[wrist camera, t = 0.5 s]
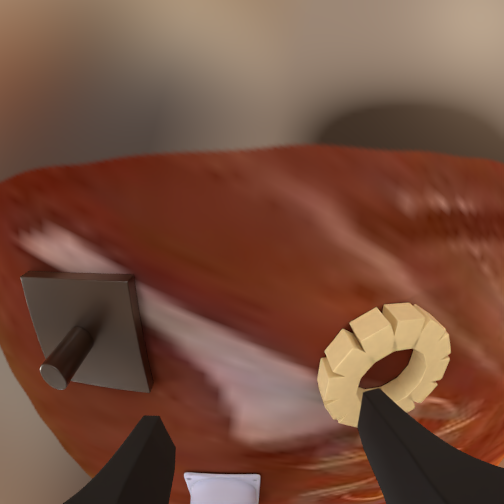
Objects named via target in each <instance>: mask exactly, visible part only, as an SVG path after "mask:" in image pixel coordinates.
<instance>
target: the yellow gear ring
mask: <svg viewBox="0 0 504 504" xmlns="http://www.w3.org/2000/svg"><path fill="white" fill-rule="evenodd" d="M350 326H351V328H352V330H353V332H354V334H353V333H351V332H349V331H347V330H345V329H342V330H341V331H340V332H339V334H338V335H337V336H336V337H335V339H334V340H333V341H332V342H331V344H330V345H329V346H328V347H327V349H326V350H325V354H326V357H324V358H321V361H320V366H319V372H318V377H317V381H318V384H319V385H318V387H319V390H320V393H321V396H322V400H323V403H324V406H325V407H326V409H327V410H328V412H329V413H330V415H331V416H332V418H333V419H334V420H336V419H337V420H338V422H339V423H341V424H345V425H349V426H353V427H357V425H358V420H359V414H360V408H361V402H362V395H363V392H365V391H369V390H373V389H376V388H380V389H381V390H382V391H383V392H384V393H385V394H386V395H387V396H388V397H390V398H391V399H392V400H393V401H394V402H395V403H396V404H397V405H398V406H399V407H400V408H402V409H403V410H404V411H405V412H406V413H407V412H409V411H410V410H412V409H414V408H415V405H414V401H415V402H418V403H421V402H422V401H423V400H424V399H425V398H426V397H427V396H428V395H429V394H430V393H431V392H432V391H433V389H434V388H435V387H436V386H437V383H436V382H435V381H436V380H440V379H442V377H443V374H444V372H445V370H446V367H447V365H448V362H449V360H450V358H449V357H448V355H449V354H450V353H451V348H450V340H449V334H448V333H447V332H446V329H445V328H444V327H443V326H442V325H441V324H440V323H439V322H438V321H437V320H436V319H435V318H434V317H433V316H432V315H431V314H429V313H428V312H426V311H425V310H423V309H422V308H421V307H419V306H418V305H416V304H414V306H412V305H411V304H410V303H397V304H384V306H383V311H382V313H381V312H380V311H379V309H378V308H377V307H376V308H374V309H372V310H370V311H369V312H367V313H365V314H363V315H362V316H360V317H358V318H356V319H355V320H353V321H351V322H350ZM412 348H413V353H412V356H411V359H410V361H409V364H408V366H407V367H406V368H405V369H404V370H403V371H402V373H401V374H400V375H399V376H398V377H397V378H395V379H394V380H392V381H390V382H389V383H387V384H385V385H383V386H382V387H376V388H370V389H363V388H360V387H358V386H359V383H360V379H361V377H362V376H363V375H364V374H365V373H366V372H367V371H368V370H369V369H370V367H371V366H372V365H373V364H374V363H375V362H377V361H378V360H380V359H382V358H384V357H385V356H387V355H389V354H390V353H392V352H394V351H399V350H405V349H412Z"/></svg>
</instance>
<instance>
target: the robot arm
mask: <svg viewBox="0 0 504 504" xmlns="http://www.w3.org/2000/svg"><path fill="white" fill-rule="evenodd" d="M357 427H358V431H359V434H360V438H361V441H362V445H363V448H364V451H365V453H366V456H367V458H368V460H369V463H370V465H371V467H372V469H373V472H374V474H375V476H376V479H377V481H378V483H379V486H380V488H381V490H382V493H383V495H384V498H385V501H386V504H504V468H501V467H498V466H495V465H492V464H489V463H487V462H484V461H481V460H479V459H476V458H474V457H472V456H470V455H468V454H466V453H464V452H462V451H460V450H458V449H456V448H454V447H453V446H451V445H449V444H448V443H446V442H444V441H443V440H441V439H440V438H438V437H437V436H436V435H434V434H433V433H431V432H430V431H429V430H427V429H426V428H425V427H423V426H422V425H421V424H419V423H418V422H417V421H416V420H415V419H413V418H412V417H411V416H410V415H408V414H407V413H406V412H405V411H404V410H403V409H402V408H400V407H399V406H398V405H397V404H396V403H395V402H394V401H393V400H392V399H391V398H390V397H388V396H387V395H386V394H385V393H384V392H383V391H382V390H381V389H380V388H376V389H373V390H369V391H365V392H363V395H362V402H361V408H360V414H359V420H358V425H357ZM175 450H176V447H175V446H174V444H173V442H172V440H171V438H170V436H169V434H168V432H167V430H166V428H165V426H164V424H163V422H162V420H161V418H160V416H143V417H142V419H141V420H140V421H139V423H138V424H137V425H136V427H135V428H134V429H133V431H132V432H131V433H130V435H129V436H128V437H127V439H126V440H125V441H124V443H123V444H122V445H121V447H120V448H119V449H118V450H117V452H116V453H115V454H114V455H113V457H112V458H111V459H110V460H109V461H108V463H107V464H106V465H105V466H104V467H103V468H102V469H101V470H100V471H99V473H98V474H97V475H96V476H95V477H94V478H93V479H92V480H91V481H90V482H89V483H88V484H87V485H86V486H85V487H83V488H82V489H81V490H80V491H79V492H78V493H76V494H75V495H74V496H73V497H71V498H70V499H69V500H67V501H66V502H65V503H63V504H168V503H169V498H170V492H171V487H172V481H173V476H174V470H175ZM184 477H185V480H186V483H187V486H188V489H189V491H190V494H191V502H190V504H258V502H259V490H260V475H259V474H208V473H192V472H186V473H184Z"/></svg>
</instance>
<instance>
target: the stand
mask: <svg viewBox="0 0 504 504" xmlns="http://www.w3.org/2000/svg"><path fill="white" fill-rule="evenodd" d="M21 282H22V286H23V290H24V294H25V297H26V301H27V305H28V308H29V312H30V315H31V318H32V321H33V325H34V328H35V331H36V334H37V337H38V340H39V342H40V345H41V348H42V351H43V353H44V356H45V358H46V360H45V361H44V363H43V364H42V365H41V367H40V373H41V375H42V377H43V379H44V380H45V381H46V382H47V383H48V384H49V385H50V386H52V387H53V388H55V389H58V390H63V389H65V388H66V387H67V386H68V384H69V383H70V381H74V382H79V383H84V384H90V385H96V386H101V387H108V388H114V389H121V390H129V391H137V392H146V393H150V392H151V389H152V386H153V379H152V374H151V370H150V366H149V361H148V356H147V352H146V347H145V342H144V337H143V331H142V326H141V320H140V314H139V308H138V302H137V295H136V288H135V281H134V275H133V274H96V273H66V272H41V271H28V272H27V273H25V274H24V275H22V276H21Z"/></svg>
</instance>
